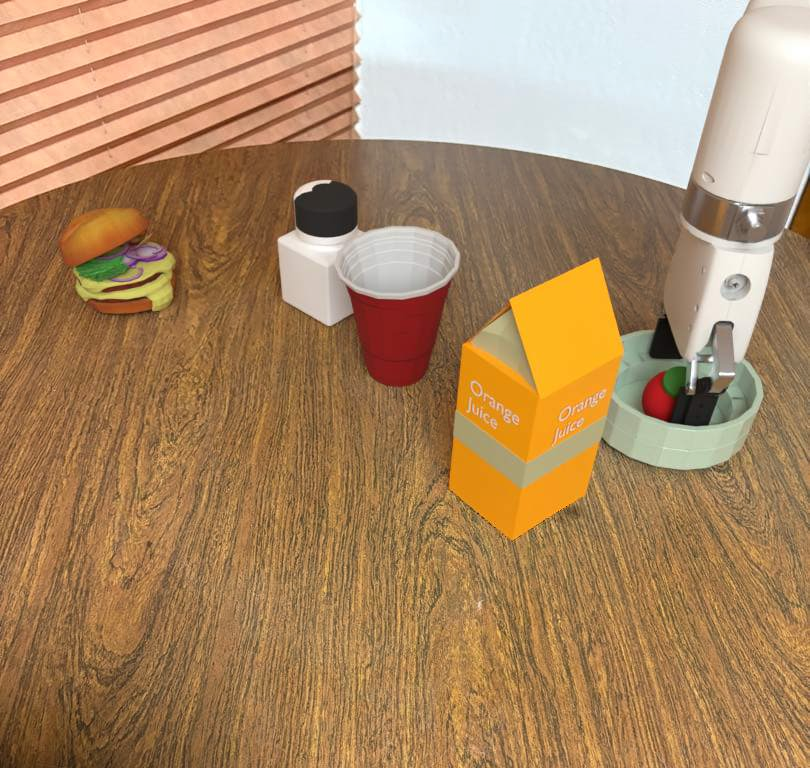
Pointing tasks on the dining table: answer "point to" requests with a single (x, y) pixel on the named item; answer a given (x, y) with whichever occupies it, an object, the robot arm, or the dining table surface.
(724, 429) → the bowl
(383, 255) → the plastic cup
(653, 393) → the red tomato
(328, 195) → the medicine bottle
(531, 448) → the orange juice
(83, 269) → the cheeseburger
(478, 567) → the dining table surface
